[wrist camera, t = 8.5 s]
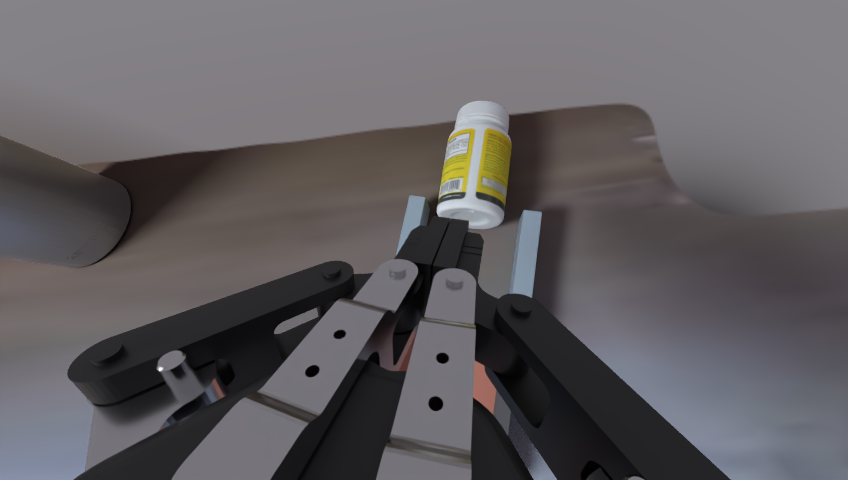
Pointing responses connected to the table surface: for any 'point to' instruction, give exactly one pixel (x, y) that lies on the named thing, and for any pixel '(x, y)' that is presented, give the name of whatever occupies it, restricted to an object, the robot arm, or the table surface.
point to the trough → (523, 250)
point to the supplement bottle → (477, 166)
